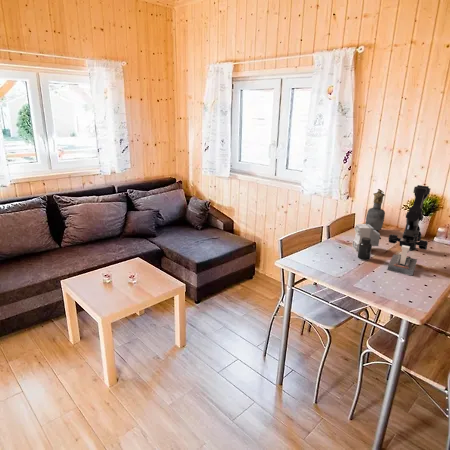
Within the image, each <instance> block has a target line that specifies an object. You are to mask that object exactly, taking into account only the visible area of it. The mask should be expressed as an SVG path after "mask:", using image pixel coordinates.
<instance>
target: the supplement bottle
mask: <svg viewBox="0 0 450 450" xmlns="http://www.w3.org/2000/svg"><path fill="white" fill-rule="evenodd" d="M361 241H362V242H360V243H359V249H358V251H357V258H358V259H359V260H362V261H369V260H370V259H371V256H372V248H373V246H372V244H371V239H370V238H367V237H363V238H362V240H361Z"/></svg>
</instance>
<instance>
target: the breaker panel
mask: <svg viewBox="0 0 450 450" xmlns="http://www.w3.org/2000/svg"><path fill="white" fill-rule="evenodd" d="M400 259H401V254H394V253H393V255H392V256H391V258H390V261H389V263H388V265H387V271H389V272H390V271H391V272H395V273H399V274H403V275H406V276H407V275H408V276H410V277H411V276H413V275H414V272H415V269H416V265H417V264H418V263H417V262H418V259H417V258H413V257H411V256H407V257H406V262H405V265H404V264H400Z"/></svg>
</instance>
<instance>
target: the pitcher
mask: <svg viewBox="0 0 450 450" xmlns="http://www.w3.org/2000/svg"><path fill="white" fill-rule="evenodd" d="M373 195H374V196H373V207H371V208H369V209H368V210H367V213H366V218H365V223H364V224H369V225H370V226H372V227H373V228H374V230H376V231H377V232H378V233H380V230H382V228H383V225H384V221H385V214H386V212H385V210H384V209H382V204H383V202H384V201H383V200H384V197H385V196H386V194H385V192H384V191H383V190H381V189H380V188H378V189H377V192H375V193H373Z"/></svg>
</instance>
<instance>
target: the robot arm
mask: <svg viewBox="0 0 450 450" xmlns="http://www.w3.org/2000/svg"><path fill="white" fill-rule="evenodd" d="M412 192H413V194H414V201H413V204H412V206H411V207H409V210H408V211H407V212H406V214H405V218H406V221H405V223H406V224H405V227H404V231H403V233H402V237H399V235H397V234H392V233H391V234H389V236H388V243H390V244H396V243H397V242H398V243H399V244H398V245H399V246H400V247H402V245H405V246H410V249H409V251H408V252H407V254H408V253H409V252H412V251H416V250H418V249H420V250H423V251H424V250H425V251H426V250H428V244H429V242H428V241H427V240H425V239H422V232H421V228H420V226H419V223H420V221H422V220H424V213H423V205H424V201H425V200H426V199H427V198H428V195H430V193H431V188H429V186H426V185H421V184H420V185H419V184H417V185H416V186H414V188H413V191H412ZM417 246H418V248H417Z"/></svg>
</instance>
